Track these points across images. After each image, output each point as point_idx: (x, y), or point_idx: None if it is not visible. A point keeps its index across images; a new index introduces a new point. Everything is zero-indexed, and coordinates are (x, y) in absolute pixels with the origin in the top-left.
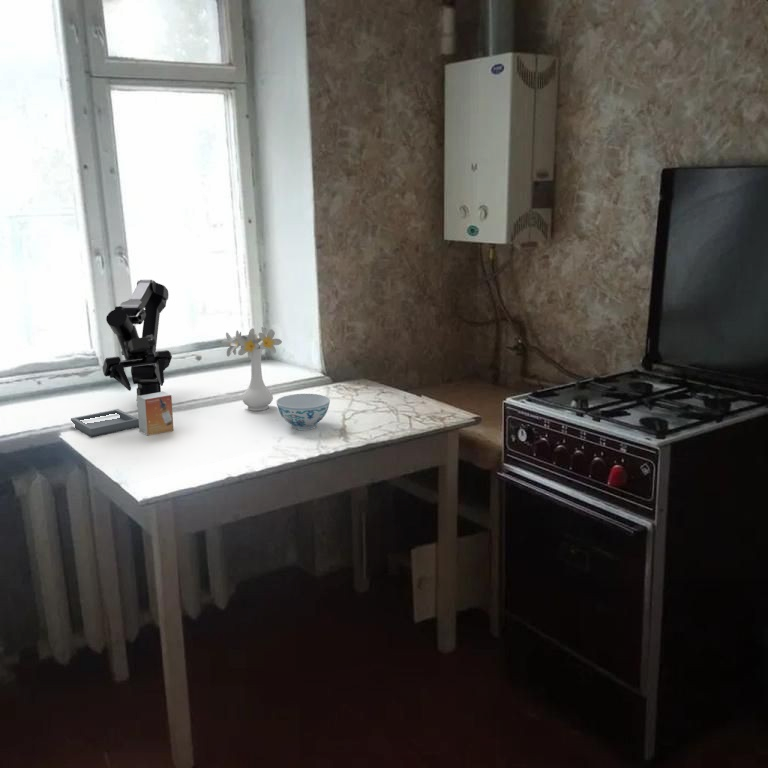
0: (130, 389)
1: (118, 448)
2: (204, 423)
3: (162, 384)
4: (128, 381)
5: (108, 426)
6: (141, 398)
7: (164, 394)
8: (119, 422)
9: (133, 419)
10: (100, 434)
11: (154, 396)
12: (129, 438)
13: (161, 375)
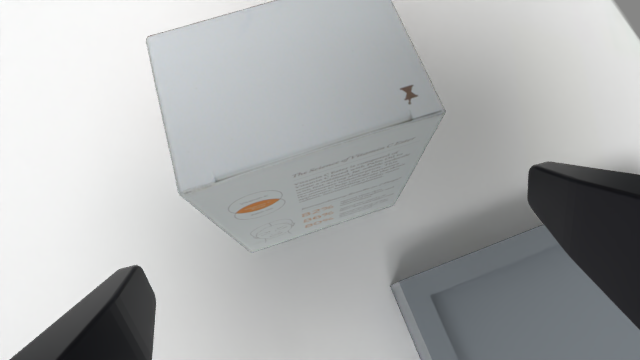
0: (533, 174)
1: (483, 6)
2: (46, 228)
3: (134, 271)
4: (618, 187)
5: None
6: (403, 27)
7: (196, 60)
8: (518, 247)
9: (433, 284)
10: None
11: (291, 21)
12: None
13: (48, 348)
